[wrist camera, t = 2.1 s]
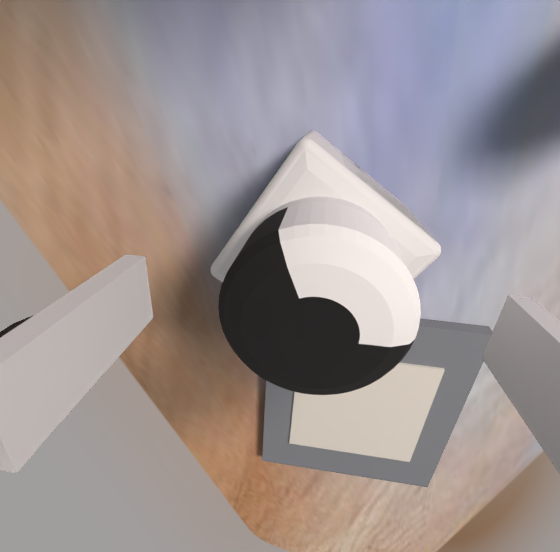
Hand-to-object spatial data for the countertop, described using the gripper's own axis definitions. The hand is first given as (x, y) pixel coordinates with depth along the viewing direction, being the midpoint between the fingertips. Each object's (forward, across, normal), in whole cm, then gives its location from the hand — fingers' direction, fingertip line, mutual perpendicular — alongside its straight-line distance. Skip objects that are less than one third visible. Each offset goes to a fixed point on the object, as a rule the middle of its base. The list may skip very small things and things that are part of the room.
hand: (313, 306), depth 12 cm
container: (+11, 0, +1) cm, 11 cm away
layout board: (+11, +5, -15) cm, 20 cm away
